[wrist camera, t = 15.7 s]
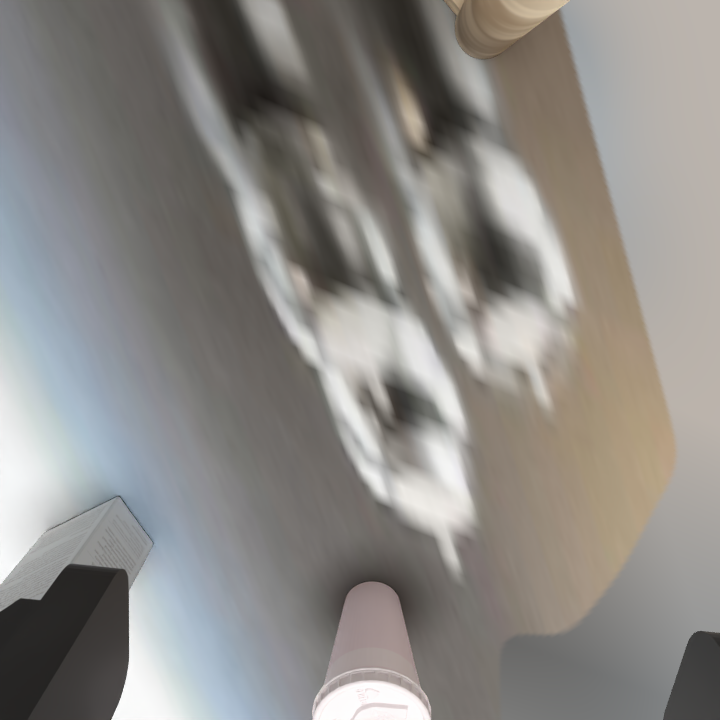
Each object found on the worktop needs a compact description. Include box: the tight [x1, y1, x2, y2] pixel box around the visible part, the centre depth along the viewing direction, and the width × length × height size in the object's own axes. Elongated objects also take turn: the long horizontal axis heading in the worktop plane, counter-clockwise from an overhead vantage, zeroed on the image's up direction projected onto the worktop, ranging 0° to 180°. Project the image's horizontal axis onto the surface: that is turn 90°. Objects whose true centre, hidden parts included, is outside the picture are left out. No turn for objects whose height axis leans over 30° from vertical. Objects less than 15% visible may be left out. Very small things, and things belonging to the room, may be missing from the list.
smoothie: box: [312, 581, 431, 720], centre depth 36 cm, size 6×6×14 cm
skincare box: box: [0, 497, 153, 611], centre depth 36 cm, size 6×4×12 cm
